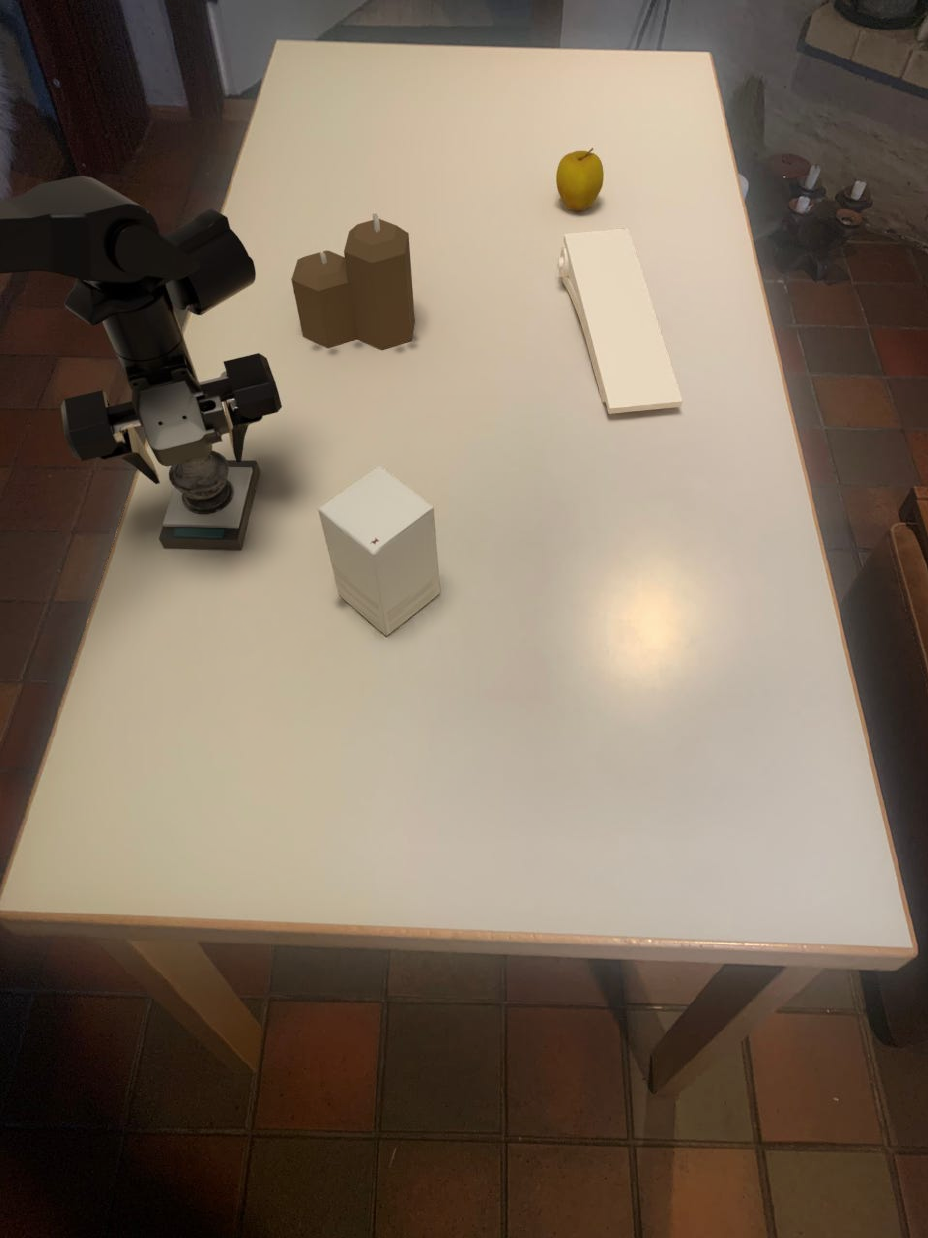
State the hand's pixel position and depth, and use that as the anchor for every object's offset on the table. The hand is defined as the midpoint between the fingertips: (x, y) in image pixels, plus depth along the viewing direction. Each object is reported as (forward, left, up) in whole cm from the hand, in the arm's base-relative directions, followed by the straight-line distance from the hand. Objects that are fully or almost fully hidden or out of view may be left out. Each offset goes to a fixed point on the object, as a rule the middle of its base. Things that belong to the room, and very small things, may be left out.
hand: (198, 470), depth 83 cm
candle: (+24, +24, -6) cm, 35 cm away
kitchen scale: (0, 0, -6) cm, 6 cm away
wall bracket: (+51, +10, -6) cm, 53 cm away
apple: (+59, +38, -6) cm, 70 cm away
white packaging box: (+14, -17, -6) cm, 23 cm away
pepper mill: (0, 0, -4) cm, 4 cm away
